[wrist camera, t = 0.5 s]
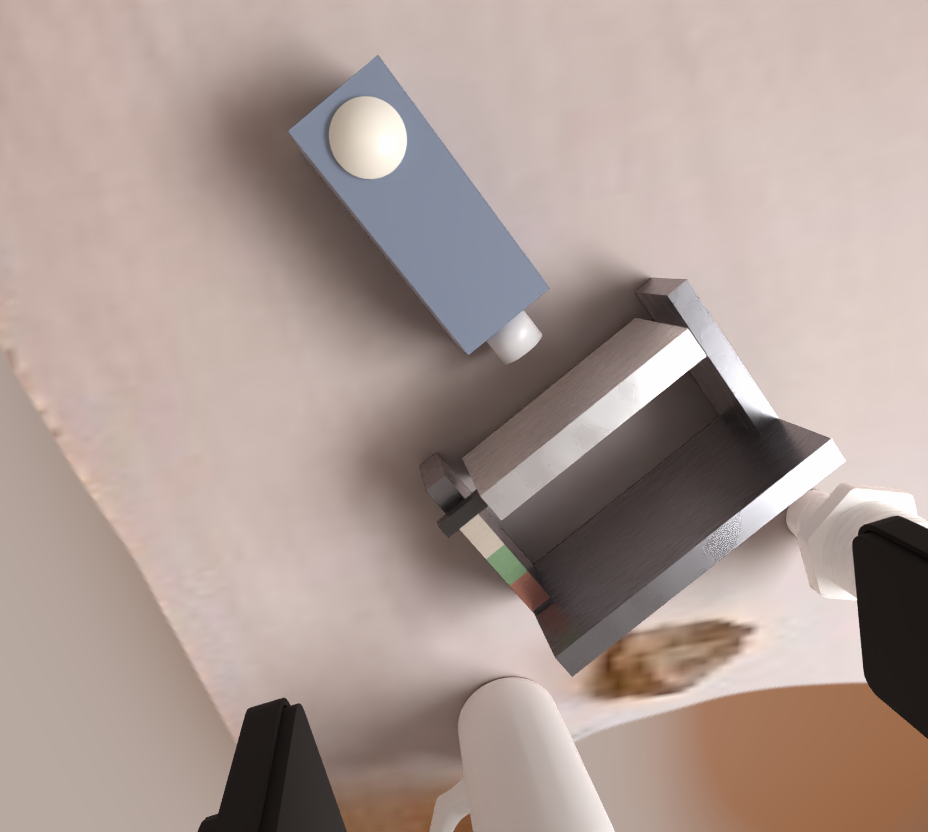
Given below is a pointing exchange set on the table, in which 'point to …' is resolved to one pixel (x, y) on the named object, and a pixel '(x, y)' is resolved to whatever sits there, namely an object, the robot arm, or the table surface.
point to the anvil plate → (573, 417)
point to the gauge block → (423, 212)
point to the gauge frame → (658, 503)
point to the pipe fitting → (841, 530)
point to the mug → (518, 767)
